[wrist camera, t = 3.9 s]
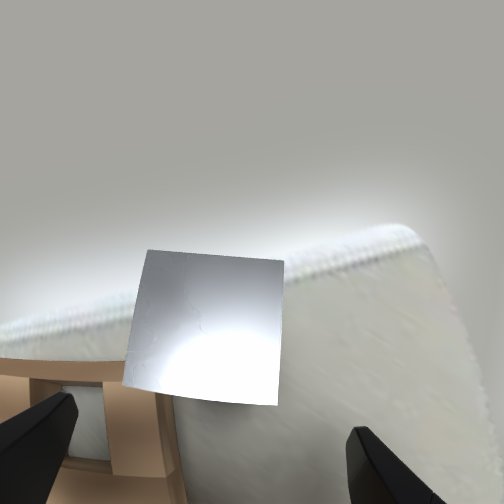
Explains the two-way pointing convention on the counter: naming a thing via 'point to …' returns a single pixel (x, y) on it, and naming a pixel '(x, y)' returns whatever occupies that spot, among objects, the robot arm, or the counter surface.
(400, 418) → the counter surface
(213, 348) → the square bit
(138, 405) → the socket block
